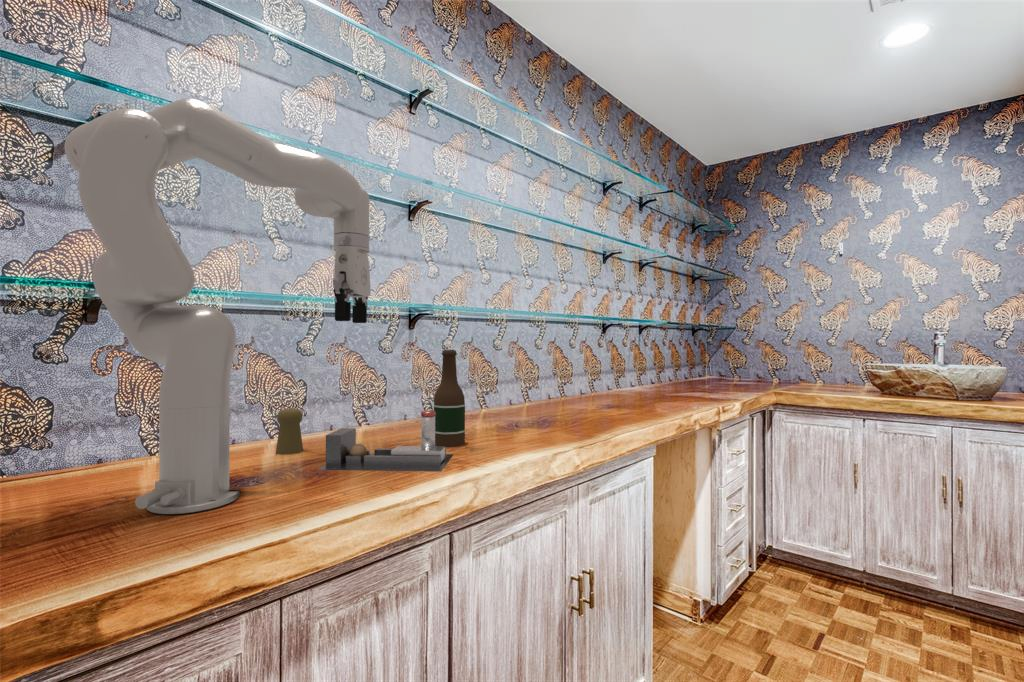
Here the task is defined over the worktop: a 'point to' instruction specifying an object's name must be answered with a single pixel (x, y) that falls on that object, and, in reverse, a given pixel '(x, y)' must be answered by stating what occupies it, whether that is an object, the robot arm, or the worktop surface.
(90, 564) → the worktop surface
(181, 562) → the worktop surface
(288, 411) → the cork
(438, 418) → the beer bottle
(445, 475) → the worktop surface
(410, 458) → the nutcracker base
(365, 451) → the walnut
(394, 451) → the grey and clear stand
